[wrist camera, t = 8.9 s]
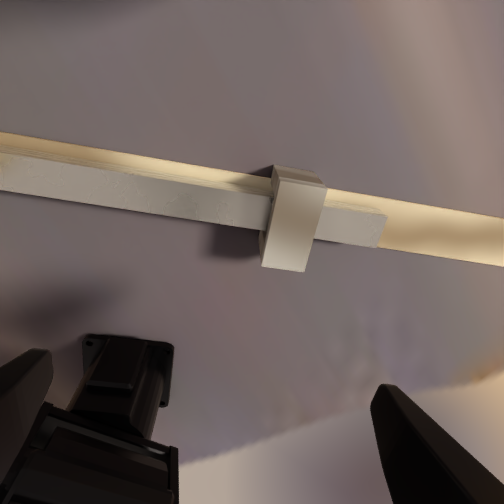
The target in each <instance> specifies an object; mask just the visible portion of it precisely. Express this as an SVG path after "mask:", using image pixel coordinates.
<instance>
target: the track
mask: <svg viewBox="0 0 504 504" xmlns="http://www.w3.org/2000/svg"><path fill="white" fill-rule="evenodd" d="M0 145H3V146H9V147H15V148H21V149H27V150H33V151H39V152H45V153H51V154H57V155H63V156H69V157H75V158H81V159H86V160H92V161H98V162H104V163H110V164H116V165H122V166H128V167H134V168H140V169H146V170H152V171H158V172H164V173H170V174H175V175H181V176H187V177H193V178H199V179H205V180H211V181H217V182H223V183H229V184H235V185H241V186H247V187H253V188H258V189H264V190H270V191H273V192H274V195H275V196H274V201H273V205H272V210H271V215H270V219H269V224H268V228H267V231H263V230H260V233H259V238H258V241H259V249H260V257H261V265H262V266H263V267H270V268H277V269H284V270H291V271H298V272H304V270H305V267H306V263H307V260H308V256H309V253H310V250H311V246H312V243H313V239H314V236H315V232H316V229H317V225H318V222H319V218H320V215H321V211H322V208H323V204H324V201H325V200H330V201H336V202H342V203H347V204H353V205H359V206H365V207H371V208H377V209H380V210H381V211H382V212H383V213H384V214H385V215H386V216H387V217H388V218H387V221H386V224H385V226H384V229H383V231H382V234H381V237H380V239H379V242H378V244H377V247H381V248H387V249H394V250H400V251H407V252H413V253H419V254H426V255H432V256H439V257H445V258H452V259H458V260H464V261H471V262H477V263H484V264H490V265H497V266H503V267H504V218H499V217H493V216H487V215H481V214H475V213H470V212H464V211H458V210H452V209H446V208H441V207H435V206H429V205H423V204H417V203H412V202H406V201H400V200H394V199H389V198H383V197H377V196H371V195H365V194H360V193H354V192H348V191H342V190H336V189H331V188H327V187H326V186H325V185H324V184H323V183H322V181H321V180H320V179H319V178H318V177H317V175H316V174H315V173H314V172H312V171H306V170H301V169H295V168H289V167H284V166H278V165H274V166H273V171H272V175H271V178H267V177H261V176H255V175H250V174H244V173H238V172H232V171H226V170H221V169H215V168H209V167H203V166H197V165H192V164H186V163H180V162H174V161H168V160H163V159H157V158H151V157H145V156H140V155H134V154H128V153H122V152H116V151H111V150H105V149H99V148H93V147H87V146H82V145H76V144H70V143H64V142H58V141H53V140H47V139H41V138H35V137H30V136H24V135H18V134H12V133H6V132H1V131H0Z"/></svg>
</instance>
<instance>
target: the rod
mask: <svg viewBox="0 0 504 504" xmlns="http://www.w3.org/2000/svg"><path fill="white" fill-rule="evenodd" d="M0 190H4V191H11V192H17V193H24V194H30V195H37V196H43V197H49V198H56V199H62V200H69V201H75V202H82V203H88V204H95V205H101V206H108V207H114V208H121V209H127V210H133V211H140V212H146V213H153V214H159V215H166V216H172V217H179V218H185V219H192V220H198V221H204V222H211V223H217V224H224V225H230V226H237V227H243V228H250V229H256V230H263V231H267V228H268V224H269V219H270V215H271V210H272V205H273V201H274V196H275V195H274V192H273V191H270V190H264V189H258V188H253V187H247V186H241V185H235V184H229V183H223V182H217V181H211V180H205V179H199V178H193V177H187V176H181V175H175V174H170V173H164V172H158V171H152V170H146V169H140V168H134V167H128V166H122V165H116V164H110V163H104V162H98V161H92V160H86V159H81V158H75V157H69V156H63V155H57V154H51V153H45V152H39V151H33V150H27V149H21V148H15V147H9V146H3V145H0ZM387 218H388V217H387V216H386V215H385V214H384V213H383V212H382V211H381V210H380V209H377V208H371V207H365V206H359V205H353V204H347V203H342V202H336V201H330V200H325V201H324V204H323V208H322V211H321V215H320V218H319V222H318V225H317V229H316V232H315V236H314V239H321V240H327V241H334V242H340V243H347V244H353V245H359V246H366V247H372V248H376V247H377V244H378V242H379V239H380V237H381V234H382V231H383V229H384V226H385V224H386V221H387Z"/></svg>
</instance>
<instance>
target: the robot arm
mask: <svg viewBox="0 0 504 504" xmlns="http://www.w3.org/2000/svg"><path fill="white" fill-rule="evenodd" d="M89 341H91V342H89ZM82 348H83V367H84V376H83V378H82V380H81V382H80V384H79V386H78V388H77V390H76V391H75V393H74V395H73V397H72V399H71V401H70V403H69V405H68V407H67V408H66V410H63V409H60V408H57V407H54V406H53V404H51V403H48V402H45V401H44V403H43V404H42V402H43V400H44V398H45V395H46V393H47V391H48V389H49V386H50V384H51V382H52V379H53V365H52V357H51V352H50V351H49V350H47V349H37V348H33V349H30V350H28V351H27V352H25V353H23V354H22V355H20V356H18V357H17V358H15V359H13V360H12V361H10V362H8V363H7V364H5V365H3V366H2V367H0V504H179V477H178V476H179V471H178V448H176V447H173V446H169V447H168V446H165V445H162V444H160V443H157V442H154V441H151V436H152V432H153V428H154V424H155V420H156V416H157V412H158V408H159V407H161V408H162V407H166V406H168V403H169V397H170V387H171V377H172V368H173V358H174V346H173V345H172V344H169V343H162V342H153V341H144V340H135V339H127V338H118V337H109V336H100V335H86V336H85V338H84V339H83V341H82ZM166 350H169V351H166ZM41 404H42V406H41ZM40 407H41V408H40ZM370 411H371V416H372V421H373V425H374V431H375V436H376V440H377V445H378V450H379V455H380V459H381V464H382V468H383V472H384V475H385V478H386V482H387V485H388V488H389V492H390V495H391V498H392V501H393V504H504V484H502V483H501V482H500V481H499V480H498V479H497V478H496V477H495V476H494V475H493V474H492V473H491V472H489V471H488V470H487V469H486V468H485V467H484V466H483V465H482V464H481V463H479V461H477V460H476V459H475V458H474V457H473V456H472V455H471V454H470V453H469V452H468V451H467V450H465V449H464V448H463V447H462V446H461V445H460V444H459V443H458V442H457V441H456V440H455V439H453V438H452V437H451V436H450V435H449V434H448V433H447V432H446V431H445V430H444V429H443V428H442V427H440V426H439V425H438V424H437V423H436V422H435V421H434V420H433V419H432V418H431V417H430V416H429V415H427V414H426V413H425V412H424V411H423V410H422V409H421V408H420V407H419V406H418V405H416V404H415V403H414V402H413V401H412V400H411V399H410V398H409V397H408V396H407V395H406V394H405V393H404V392H402V391H401V390H400V389H399V388H398V387H397V386H395V385H390V384H381V385H380V386H379V387H378V389H377V391H376V393H375V395H374V398H373V400H372V402H371V406H370Z"/></svg>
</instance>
